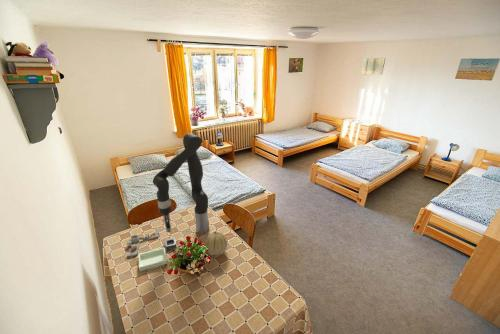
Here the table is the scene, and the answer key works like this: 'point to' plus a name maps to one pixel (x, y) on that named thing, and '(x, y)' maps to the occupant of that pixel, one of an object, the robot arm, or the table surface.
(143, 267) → the tray
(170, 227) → the lock pin
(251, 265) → the table surface
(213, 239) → the cantaloupe
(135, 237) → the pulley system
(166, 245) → the tensioner block
